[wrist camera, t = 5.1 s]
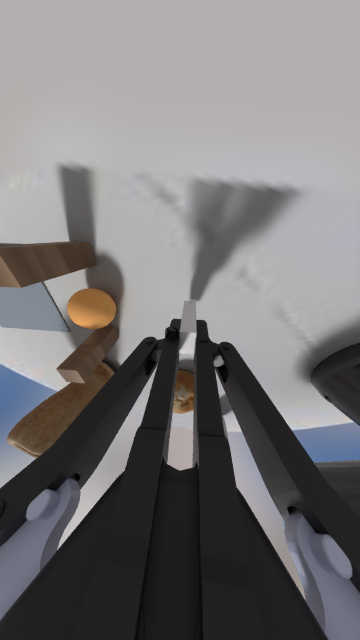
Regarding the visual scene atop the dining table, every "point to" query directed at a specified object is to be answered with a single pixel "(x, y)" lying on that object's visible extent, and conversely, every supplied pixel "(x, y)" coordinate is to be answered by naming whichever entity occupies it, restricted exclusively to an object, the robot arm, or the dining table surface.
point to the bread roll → (184, 392)
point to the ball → (91, 308)
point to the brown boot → (56, 414)
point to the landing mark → (30, 309)
